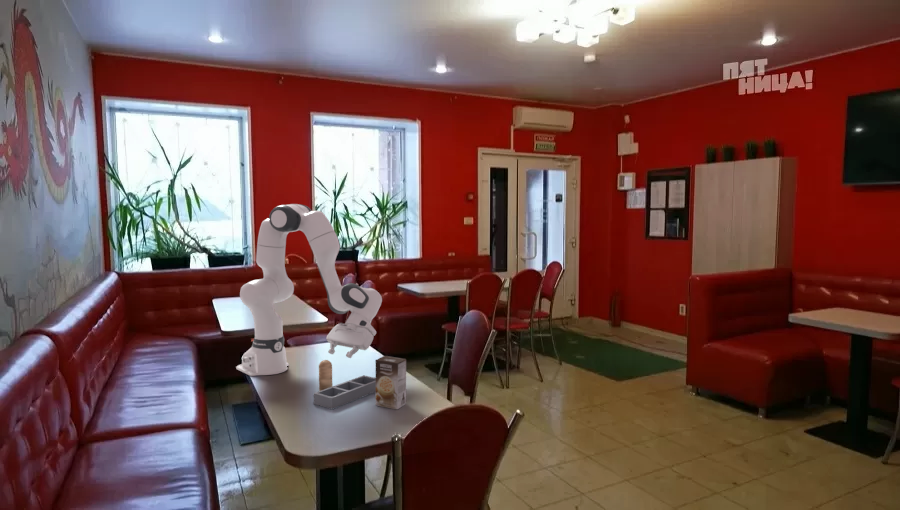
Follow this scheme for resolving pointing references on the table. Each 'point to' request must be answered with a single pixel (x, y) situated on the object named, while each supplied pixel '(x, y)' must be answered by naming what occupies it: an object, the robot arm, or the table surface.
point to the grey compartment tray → (345, 392)
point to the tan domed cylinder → (325, 375)
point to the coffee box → (390, 382)
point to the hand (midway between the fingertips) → (339, 355)
